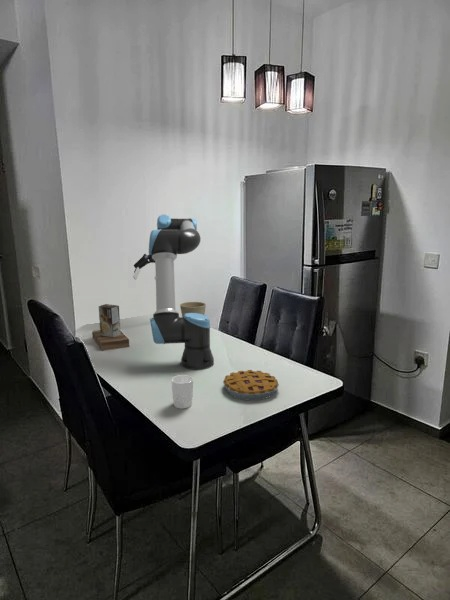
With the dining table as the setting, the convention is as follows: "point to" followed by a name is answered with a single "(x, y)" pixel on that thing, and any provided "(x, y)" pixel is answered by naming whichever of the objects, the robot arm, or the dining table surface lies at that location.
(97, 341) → the walnut stand
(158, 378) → the dining table surface
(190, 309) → the plant pot
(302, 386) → the dining table surface
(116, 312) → the coffee box
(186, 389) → the white cup
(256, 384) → the pie
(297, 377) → the dining table surface
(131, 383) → the dining table surface
